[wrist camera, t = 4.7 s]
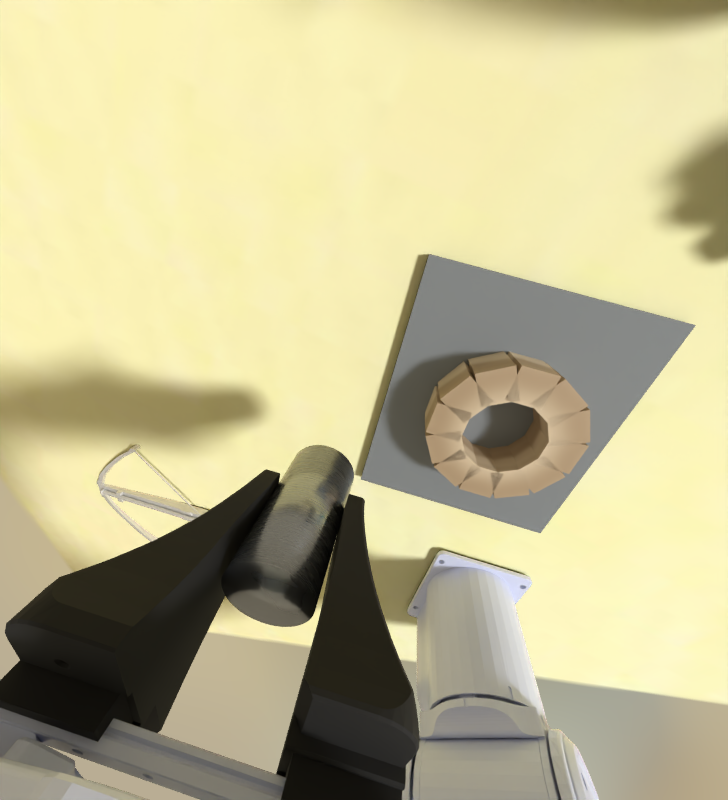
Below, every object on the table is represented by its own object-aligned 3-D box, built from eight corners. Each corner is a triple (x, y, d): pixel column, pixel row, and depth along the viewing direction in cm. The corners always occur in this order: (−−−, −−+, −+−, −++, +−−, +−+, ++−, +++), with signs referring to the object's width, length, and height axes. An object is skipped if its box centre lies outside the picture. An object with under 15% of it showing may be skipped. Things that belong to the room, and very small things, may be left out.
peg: (347, 502, 15) (307, 637, 10) (289, 485, 15) (220, 609, 10) (359, 455, 14) (322, 581, 8) (297, 437, 14) (221, 550, 9)
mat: (537, 527, 23) (540, 533, 23) (361, 475, 24) (360, 479, 23) (687, 323, 16) (695, 325, 15) (428, 253, 16) (429, 254, 16)
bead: (528, 485, 21) (540, 513, 19) (410, 451, 21) (409, 473, 19) (599, 376, 17) (626, 394, 15) (454, 336, 18) (459, 348, 15)
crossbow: (127, 521, 34) (109, 536, 32) (97, 425, 28) (74, 436, 26) (259, 564, 31) (248, 583, 30) (257, 468, 26) (243, 484, 24)
